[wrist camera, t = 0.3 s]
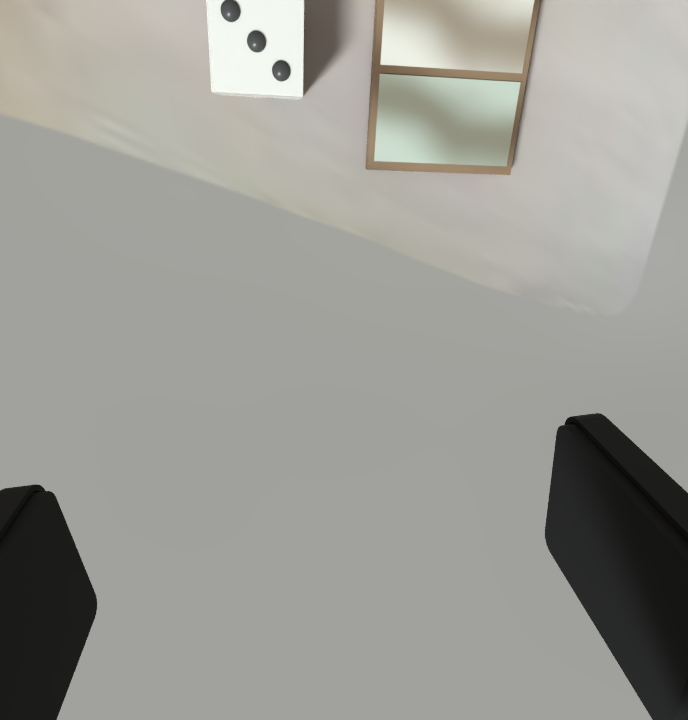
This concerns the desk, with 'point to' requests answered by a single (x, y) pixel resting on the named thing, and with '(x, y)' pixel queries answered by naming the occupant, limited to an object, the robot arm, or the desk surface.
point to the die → (256, 47)
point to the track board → (448, 84)
